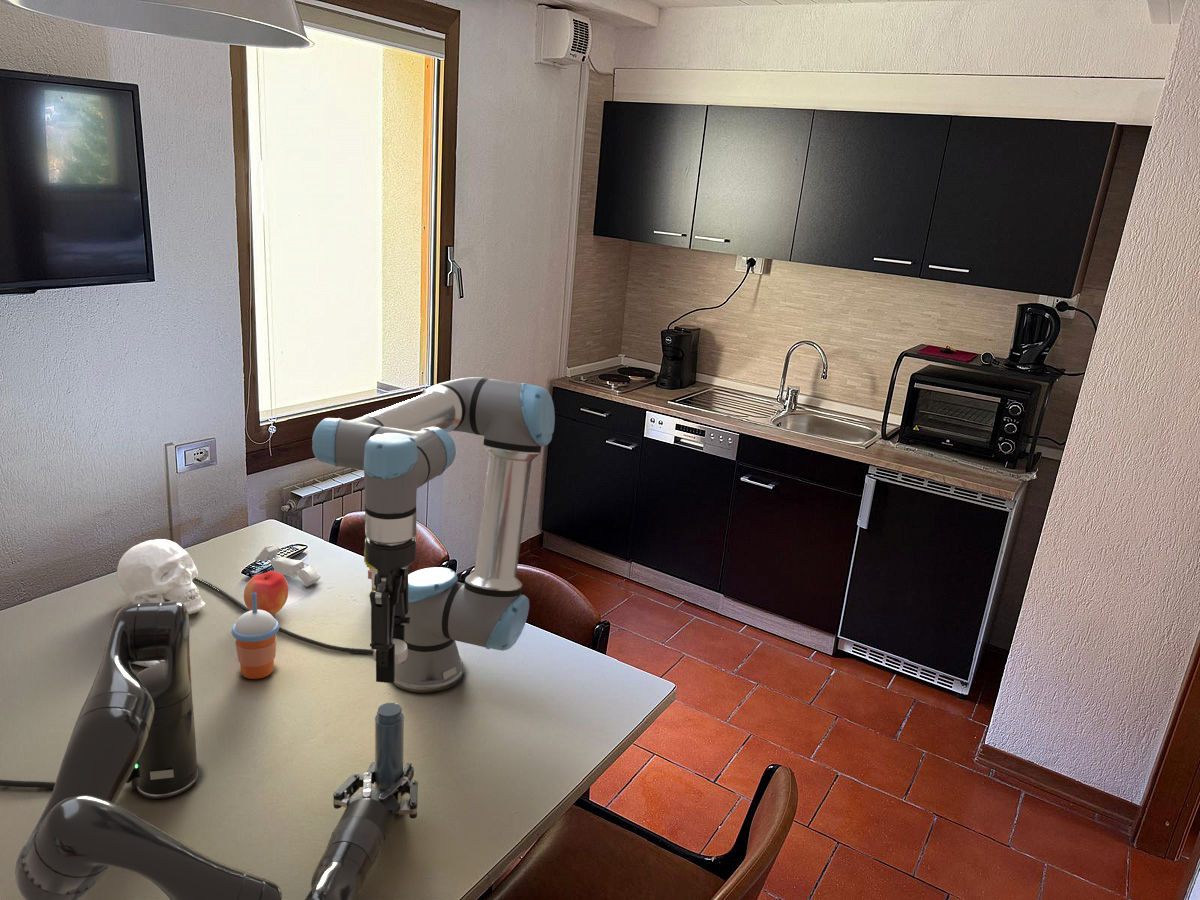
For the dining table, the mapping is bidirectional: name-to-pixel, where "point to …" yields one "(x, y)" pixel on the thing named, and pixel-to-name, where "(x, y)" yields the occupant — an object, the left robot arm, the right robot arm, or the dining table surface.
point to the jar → (389, 745)
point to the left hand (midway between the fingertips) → (394, 765)
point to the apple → (267, 592)
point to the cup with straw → (256, 641)
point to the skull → (159, 574)
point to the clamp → (288, 565)
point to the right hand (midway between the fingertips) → (390, 670)
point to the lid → (398, 651)
